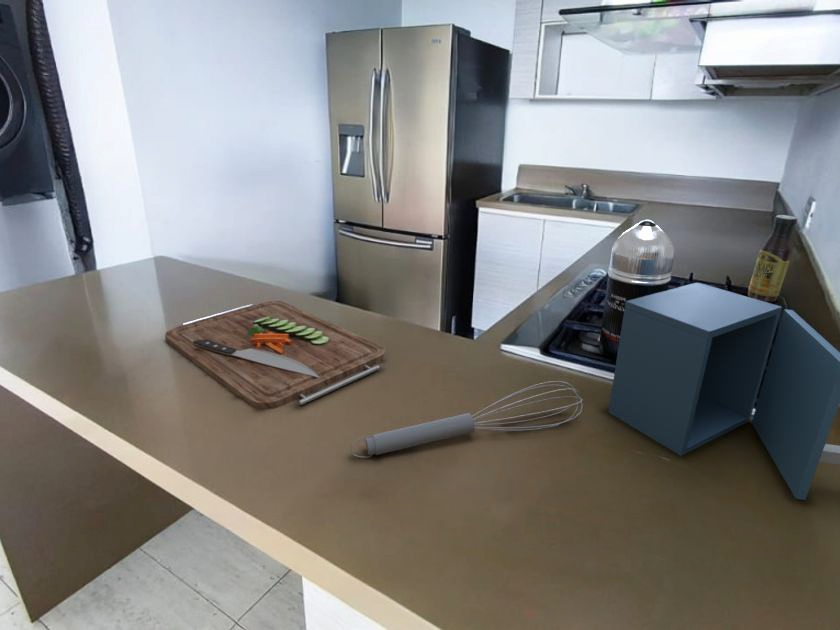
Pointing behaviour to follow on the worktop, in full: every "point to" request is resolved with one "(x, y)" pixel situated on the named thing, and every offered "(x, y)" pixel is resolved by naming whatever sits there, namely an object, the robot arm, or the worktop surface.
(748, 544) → the worktop surface
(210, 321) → the chopping board
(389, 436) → the kitchen whisk
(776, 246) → the sauce bottle
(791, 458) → the cupboard door
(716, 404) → the cupboard
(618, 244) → the black domed canister
